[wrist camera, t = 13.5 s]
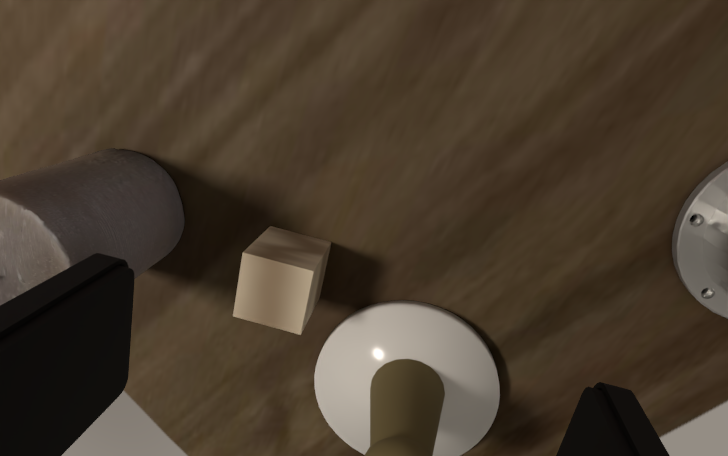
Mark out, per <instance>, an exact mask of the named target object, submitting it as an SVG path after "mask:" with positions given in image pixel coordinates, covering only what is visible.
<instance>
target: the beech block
mask: <svg viewBox="0 0 728 456" xmlns="http://www.w3.org/2000/svg"><path fill="white" fill-rule="evenodd" d="M330 247H331V242H330V241H326V240H322V239H318V238H314V237H310V236H307V235H303V234H299V233H295V232H291V231H288V230H284V229H280V228H276V227H272V226H270V227H269V228H268V229H267V230H266V231H265V232H263V233H262V234H261V235H260V236H259V237H258V238H257V239H256V240H255V241H254V242H253V243H252V244H251V245H250V246H249V247H248V248H247V249H246V250H245V251H244V252H243V254H242V260H241V267H240V273H239V280H238V286H237V293H236V299H235V306H234V312H233V316H234V317H237V318H241V319H245V320H248V321H252V322H256V323H259V324H263V325H267V326H270V327H274V328H277V329H281V330H285V331H288V332H292V333H296V334H299V335H301V333H302V331H303V329H304V327H305V325H306V323H307V322H308V320H309V318H310V316H311V314H312V312H313V310H314V308H315V306H316V304H317V302H318V300H319V298H320V294H321V289H322V284H323V280H324V275H325V270H326V266H327V261H328V256H329V252H330Z"/></svg>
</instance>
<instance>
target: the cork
mask: <svg viewBox="0 0 728 456" xmlns="http://www.w3.org/2000/svg"><path fill="white" fill-rule="evenodd" d="M444 397H445V391H444V384H443V382H442V380H441V378H440V376H439V375H438V374H437V373H436V372H435V371H434V370H433V369H432V368H431V367H430V366H428V365H426V364H424V363H422V362H420V361H416V360H412V359H397V360H394V361H391V362H388V363H386V364H384V365H383V366H382V367H381V368H379V369H378V370H377V371H376V373H375V375H374V376H373V378H372V381H371V387H370V447H369V449H368V450H367V452H366V454H365V455H364V456H433V451H434V446H435V441H436V436H437V431H438V426H439V421H440V416H441V411H442V407H443V402H444Z"/></svg>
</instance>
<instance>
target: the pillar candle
mask: <svg viewBox="0 0 728 456" xmlns="http://www.w3.org/2000/svg"><path fill="white" fill-rule="evenodd" d="M184 224H185V218H184V212H183V207H182V202H181V199H180V196H179V193H178V190H177V187H176V185H175V183H174V181H173V180H172V179H171V177H170V176H169V175H168V173H167V172H166V171H165V170H164V169H163V168H162V167H161V166H159V165H158V164H157V163H156V162H155V161H153V160H152V159H150V158H148V157H147V156H144V155H142V154H140V153H137V152H133V151H128V150H117V149H115V148H111V149H106V150H101V151H98V152H95V153H92V154H88V155H85V156H82V157H78V158H75V159H73V160H68V161H65V162H62V163H59V164H56V165H52V166H48V167H45V168H40V169H38V170H34V171H30V172H26V173H23V174H20V175H17V176H13V177H9V178H6V179H3V180H0V305H2V304H4V303H6V302H8V301H9V300H11V299H13V298H15V297H17V296H18V295H20V294H22V293H24V292H26V291H28V290H29V289H31V288H33V287H35V286H37V285H38V284H40V283H42V282H44V281H46V280H48V279H49V278H51V277H53V276H55V275H57V274H58V273H60V272H62V271H64V270H66V269H68V268H69V267H71V266H73V265H75V264H77V263H78V262H80V261H82V260H84V259H86V258H88V257H89V256H91V255H93V254H96V253H100V254H104V255H108V256H112V257H116V258H120V259H124V260H125V261H126V262H127V263H128V267H129V268H131V269H132V270H133V271H134V279H135V278H136V277H138V276H139V275H140V274H142V273H143V272H144V271H146V270H147V269H149V268H150V267H151V266H153V265H154V264H155V263H157V262H158V261H160V260H161V259H162V258H164V257H165V256H166V255H168V254H169V253H170V252H171V251H172V250H173V249H174V247H175V246H176V244H177V243H178V242H179V240H180V238H181V235H182V232H183V229H184Z"/></svg>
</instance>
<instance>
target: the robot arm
mask: <svg viewBox="0 0 728 456" xmlns="http://www.w3.org/2000/svg"><path fill="white" fill-rule="evenodd" d="M693 215H694V218H693V219H691V220H690V218H691V217H692V216H693ZM672 254H673V260H674V266H675V268H676V271H677V273H678V275H679V278H680V280H681V281H682V283H683V284H684V286H685V287H686V288H687V290H688V291H689V292H690V293H691V294H692V295H693V296H694V297H695V298H696V299H697V300H698V301H699V302H700V303H701V304H703V305H704V306H705V307H707V308H708V309H710V310H711V311H712V312H714V313H716V314H718V315H721V316H723V317H725V318H727V319H728V162H726V163H725V164H723V165H722V166H720V167H719V168H717V169H716V170H714V171H713V172H711V173H710V174H709V175H708V176H707V177H706V178H705V179H704V180H703V181H702V182H701V183H700V184H699V185H698V186H697V187H696V188H695V189H694V191H693V192H692V193H691V195H690V196H689V197H688V199H687V200H686V201H685V203H684V205H683V207H682V209H681V211H680V213H679V215H678V217H677V220H676V224H675V228H674V231H673V238H672ZM703 289H704V290H703ZM702 290H703V291H702ZM133 292H134V271H133V270H132V269H131V268H129V267H128V263H127V262H126V261H125V260H124V259H120V258H116V257H112V256H108V255H104V254H100V253H96V254H93V255H91V256H89V257H88V258H86V259H84V260H82V261H80V262H78V263H77V264H75V265H73V266H71V267H69V268H68V269H66V270H64V271H62V272H60V273H58V274H57V275H55V276H53V277H51V278H49V279H48V280H46V281H44V282H42V283H40V284H38V285H37V286H35V287H33V288H31V289H29V290H28V291H26V292H24V293H22V294H20V295H18V296H17V297H15V298H13V299H11V300H9V301H8V302H6V303H4V304H2V305H0V456H61V455H62V454H63V453H64V452H65V451H66V450H67V449H68V448H69V447H70V446H71V445H72V444H73V443H74V442H75V441H76V440H77V439H78V438H79V437H80V436H81V435H82V434H83V433H84V432H85V431H86V429H87V428H88V427H89V426H90V425H91V424H92V423H93V422H94V421H95V420H96V419H97V418H98V417H99V416H100V415H101V414H102V413H103V412H104V411H105V410H106V409H107V408H108V407H109V406H110V405H111V404H112V403H113V402H114V400H115V399H117V397H118V396H119V395H120V394H121V393H122V391H123V390H124V388H125V386H126V383H127V380H128V370H129V355H130V339H131V324H132V308H133ZM556 456H669V454H668V452H667V451H666V449H665V447H664V445H663V444H662V442H661V440H660V438H659V437H658V435H657V433H656V432H655V430H654V428H653V426H652V425H651V423H650V421H649V419H648V418H647V416H646V414H645V413H644V411H643V409H642V407H641V406H640V404H639V402H638V400H637V399H636V397H635V395H634V394H633V392H632V391H631V390H628V389H624V388H620V387H617V386H613V385H609V384H605V383H601V382H599V383H597V384H596V385H595V386H594V388H591V387H587V388H585V390H584V391H583V393H582V395H581V398H580V400H579V402H578V405H577V407H576V410H575V412H574V414H573V417H572V419H571V422H570V424H569V426H568V429H567V431H566V434H565V436H564V438H563V441H562V443H561V446H560V448H559V450H558V453H557V455H556Z"/></svg>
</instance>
